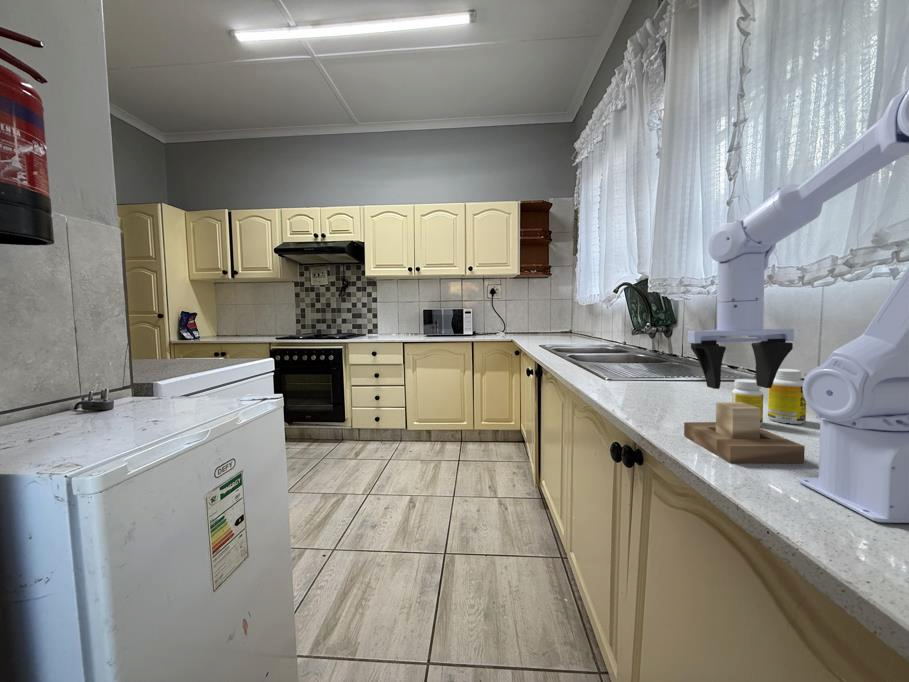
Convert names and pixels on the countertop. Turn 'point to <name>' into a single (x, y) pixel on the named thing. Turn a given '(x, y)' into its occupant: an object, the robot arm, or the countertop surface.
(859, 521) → the countertop surface
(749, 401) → the supplement bottle
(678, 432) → the countertop surface
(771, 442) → the collar block
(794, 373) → the supplement bottle
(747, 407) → the oak peg
